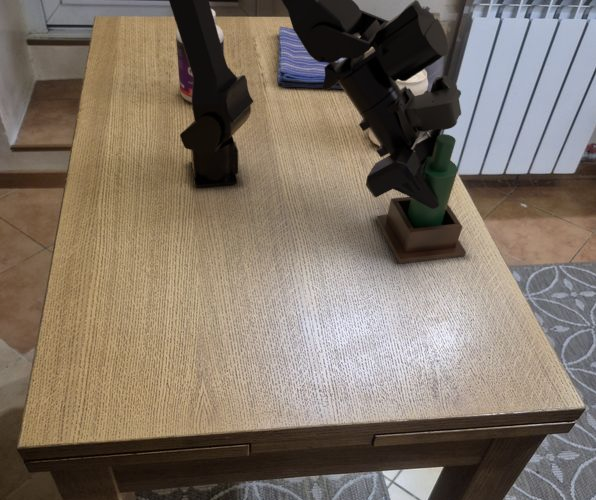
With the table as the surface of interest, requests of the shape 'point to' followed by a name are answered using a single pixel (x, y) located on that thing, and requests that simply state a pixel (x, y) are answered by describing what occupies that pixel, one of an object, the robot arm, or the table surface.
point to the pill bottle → (184, 66)
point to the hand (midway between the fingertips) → (441, 196)
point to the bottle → (436, 184)
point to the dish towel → (299, 63)
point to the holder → (420, 235)
